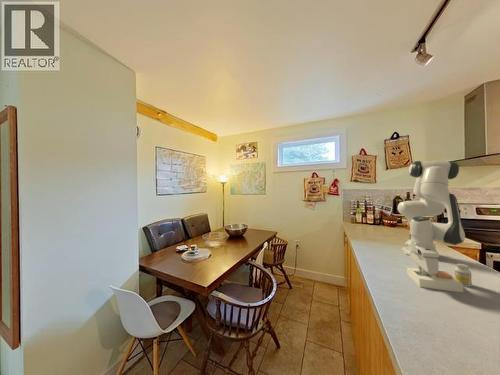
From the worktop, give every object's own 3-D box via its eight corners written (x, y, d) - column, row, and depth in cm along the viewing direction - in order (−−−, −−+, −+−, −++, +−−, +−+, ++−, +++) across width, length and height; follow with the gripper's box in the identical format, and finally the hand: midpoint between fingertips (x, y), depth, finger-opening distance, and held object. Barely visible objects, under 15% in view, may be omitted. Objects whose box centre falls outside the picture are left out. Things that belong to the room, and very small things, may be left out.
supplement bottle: (465, 287, 89) (464, 267, 90) (452, 282, 95) (451, 263, 95) (475, 286, 90) (474, 267, 90) (461, 281, 95) (460, 262, 95)
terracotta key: (433, 275, 97) (433, 270, 97) (445, 277, 95) (445, 271, 95) (439, 280, 92) (438, 274, 92) (452, 281, 90) (452, 275, 90)
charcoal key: (414, 277, 100) (414, 272, 100) (426, 278, 98) (426, 273, 98) (419, 282, 95) (418, 276, 95) (431, 283, 93) (431, 277, 93)
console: (407, 274, 104) (407, 267, 104) (444, 278, 99) (444, 271, 99) (419, 286, 91) (419, 278, 91) (463, 292, 86) (462, 283, 86)
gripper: (405, 242, 107) (406, 266, 107) (424, 254, 88) (425, 283, 88) (419, 243, 105) (420, 267, 105) (441, 255, 86) (442, 285, 86)
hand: (422, 274), depth 96 cm, fingers closed, pressing on charcoal key
